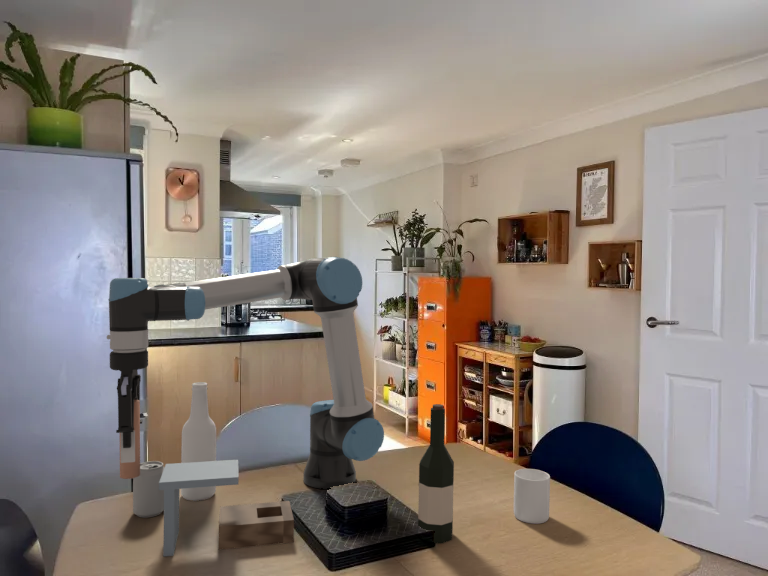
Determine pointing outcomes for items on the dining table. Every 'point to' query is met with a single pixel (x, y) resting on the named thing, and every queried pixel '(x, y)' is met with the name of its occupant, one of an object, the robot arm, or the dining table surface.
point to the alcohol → (198, 439)
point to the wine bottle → (436, 482)
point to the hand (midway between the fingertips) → (130, 458)
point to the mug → (531, 495)
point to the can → (148, 490)
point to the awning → (190, 477)
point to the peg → (133, 468)
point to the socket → (255, 525)
